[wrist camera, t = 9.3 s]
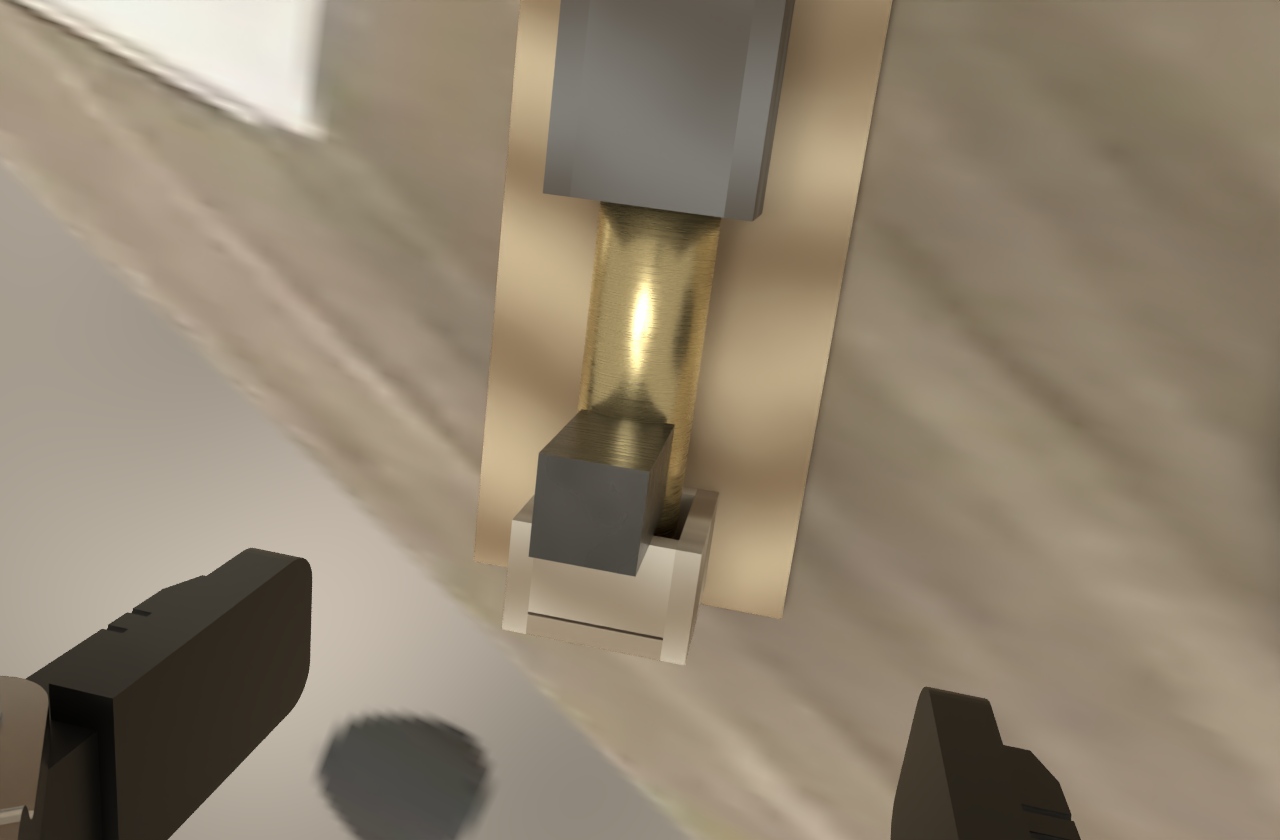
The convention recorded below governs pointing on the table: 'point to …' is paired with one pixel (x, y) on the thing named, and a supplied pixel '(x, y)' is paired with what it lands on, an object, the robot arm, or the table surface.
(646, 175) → the tube stand
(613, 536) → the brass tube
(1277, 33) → the table surface
